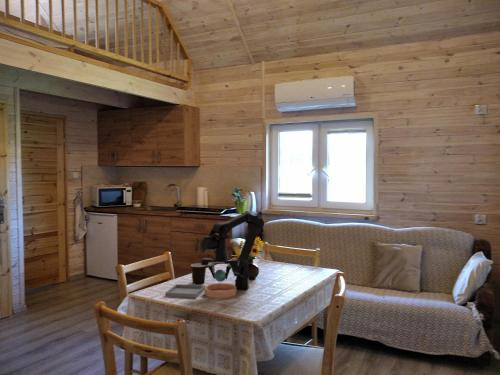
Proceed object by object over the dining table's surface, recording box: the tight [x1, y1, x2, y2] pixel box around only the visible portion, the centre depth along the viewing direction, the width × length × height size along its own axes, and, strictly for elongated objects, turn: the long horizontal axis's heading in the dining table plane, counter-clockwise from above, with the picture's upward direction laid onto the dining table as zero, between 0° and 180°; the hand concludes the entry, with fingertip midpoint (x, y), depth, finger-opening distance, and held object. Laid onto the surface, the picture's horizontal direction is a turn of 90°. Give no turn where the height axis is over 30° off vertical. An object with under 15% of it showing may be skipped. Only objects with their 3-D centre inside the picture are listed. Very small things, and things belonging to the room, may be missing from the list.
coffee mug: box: [190, 262, 207, 285], centre depth 240 cm, size 12×9×10 cm
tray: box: [164, 283, 206, 299], centre depth 219 cm, size 16×16×2 cm
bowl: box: [204, 282, 238, 299], centre depth 217 cm, size 16×16×3 cm
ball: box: [214, 269, 227, 283], centre depth 217 cm, size 6×6×6 cm
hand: (220, 279), depth 217 cm, fingers closed on ball, 6 cm apart
